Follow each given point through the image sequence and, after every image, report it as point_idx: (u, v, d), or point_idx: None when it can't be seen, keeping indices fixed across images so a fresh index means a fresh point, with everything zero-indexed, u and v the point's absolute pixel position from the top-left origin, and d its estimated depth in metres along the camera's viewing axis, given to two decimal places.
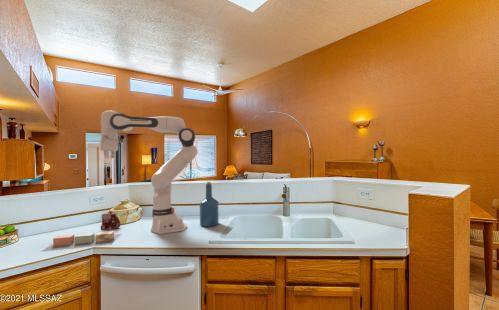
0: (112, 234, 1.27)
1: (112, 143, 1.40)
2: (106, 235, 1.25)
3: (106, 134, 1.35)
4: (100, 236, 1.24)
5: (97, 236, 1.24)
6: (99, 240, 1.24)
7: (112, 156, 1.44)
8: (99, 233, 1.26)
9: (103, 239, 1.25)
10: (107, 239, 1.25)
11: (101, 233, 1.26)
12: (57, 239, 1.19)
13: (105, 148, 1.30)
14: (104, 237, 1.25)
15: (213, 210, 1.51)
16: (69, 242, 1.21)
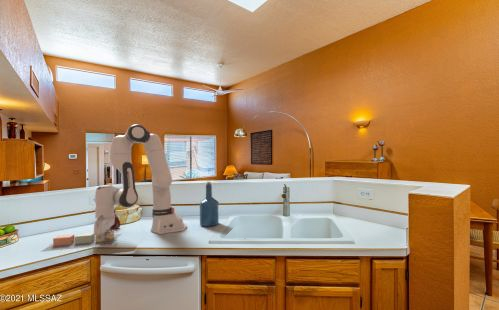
0: (112, 234, 1.27)
1: (108, 220, 1.27)
2: (106, 235, 1.25)
3: (101, 214, 1.22)
4: None
5: (97, 236, 1.24)
6: (99, 240, 1.24)
7: None
8: None
9: None
10: (107, 239, 1.25)
11: None
12: (57, 239, 1.19)
13: (99, 233, 1.17)
14: None
15: (213, 210, 1.51)
16: (69, 242, 1.21)
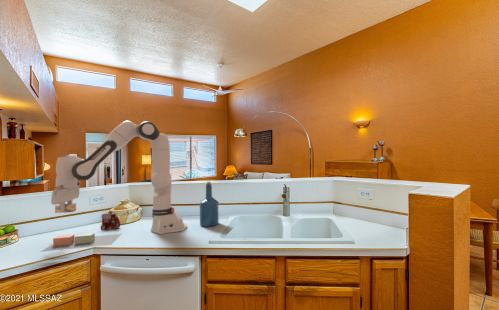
0: (73, 206, 1.22)
1: (69, 192, 1.23)
2: (66, 206, 1.20)
3: (61, 183, 1.18)
4: None
5: (57, 207, 1.19)
6: (59, 211, 1.19)
7: None
8: None
9: None
10: (67, 210, 1.20)
11: None
12: (57, 239, 1.19)
13: (57, 202, 1.13)
14: None
15: (213, 210, 1.51)
16: (69, 242, 1.21)
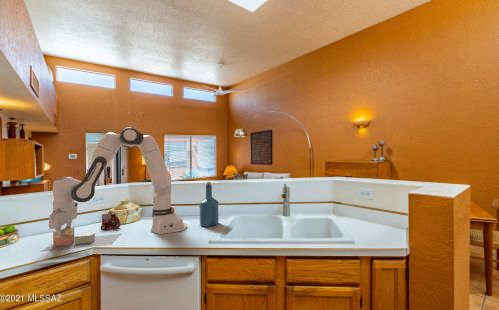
0: (71, 230, 1.22)
1: (67, 214, 1.23)
2: (64, 231, 1.20)
3: (58, 207, 1.18)
4: None
5: (55, 232, 1.19)
6: (57, 237, 1.19)
7: (67, 227, 1.25)
8: None
9: (61, 235, 1.20)
10: (66, 235, 1.20)
11: None
12: (57, 239, 1.19)
13: (55, 226, 1.12)
14: (62, 233, 1.20)
15: (213, 210, 1.51)
16: (69, 242, 1.21)
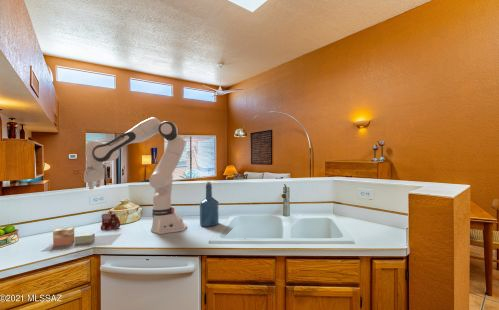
0: (71, 230, 1.22)
1: (97, 173, 1.40)
2: (64, 231, 1.20)
3: (90, 165, 1.35)
4: (58, 232, 1.19)
5: (55, 232, 1.19)
6: (57, 237, 1.19)
7: (97, 185, 1.43)
8: (57, 229, 1.21)
9: (61, 235, 1.20)
10: (66, 235, 1.20)
11: (60, 229, 1.21)
12: (57, 239, 1.19)
13: (89, 180, 1.30)
14: (62, 233, 1.20)
15: (213, 210, 1.51)
16: (69, 242, 1.21)
